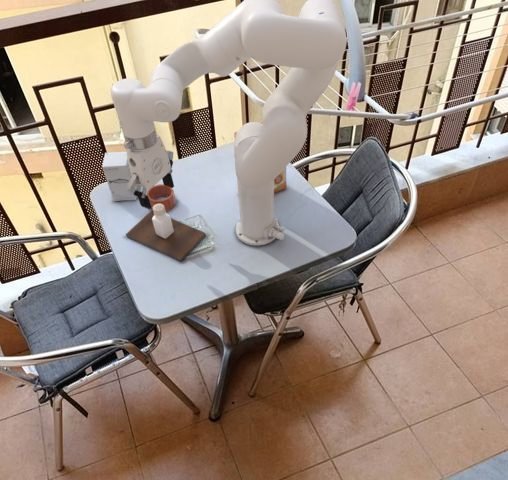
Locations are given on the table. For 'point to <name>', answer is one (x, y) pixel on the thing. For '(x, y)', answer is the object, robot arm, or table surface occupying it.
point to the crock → (161, 191)
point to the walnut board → (172, 246)
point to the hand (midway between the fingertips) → (157, 196)
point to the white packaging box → (118, 175)
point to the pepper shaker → (162, 221)
